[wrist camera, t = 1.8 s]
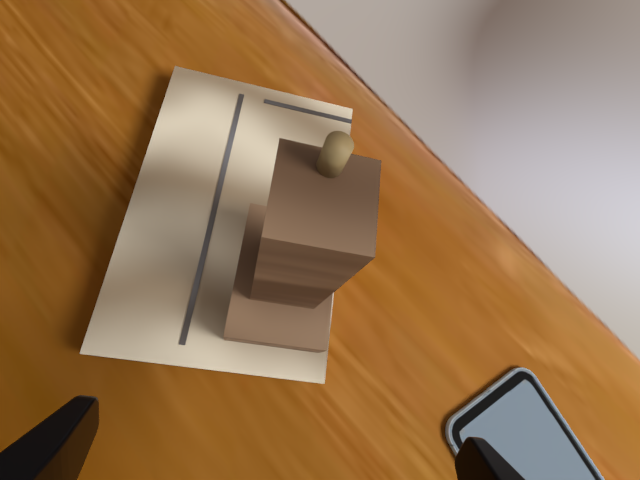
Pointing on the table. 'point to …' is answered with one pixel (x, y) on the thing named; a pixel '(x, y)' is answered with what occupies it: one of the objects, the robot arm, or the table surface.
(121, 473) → the table surface
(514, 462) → the smartphone
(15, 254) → the table surface
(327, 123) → the birch board
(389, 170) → the table surface
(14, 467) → the robot arm
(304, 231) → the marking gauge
